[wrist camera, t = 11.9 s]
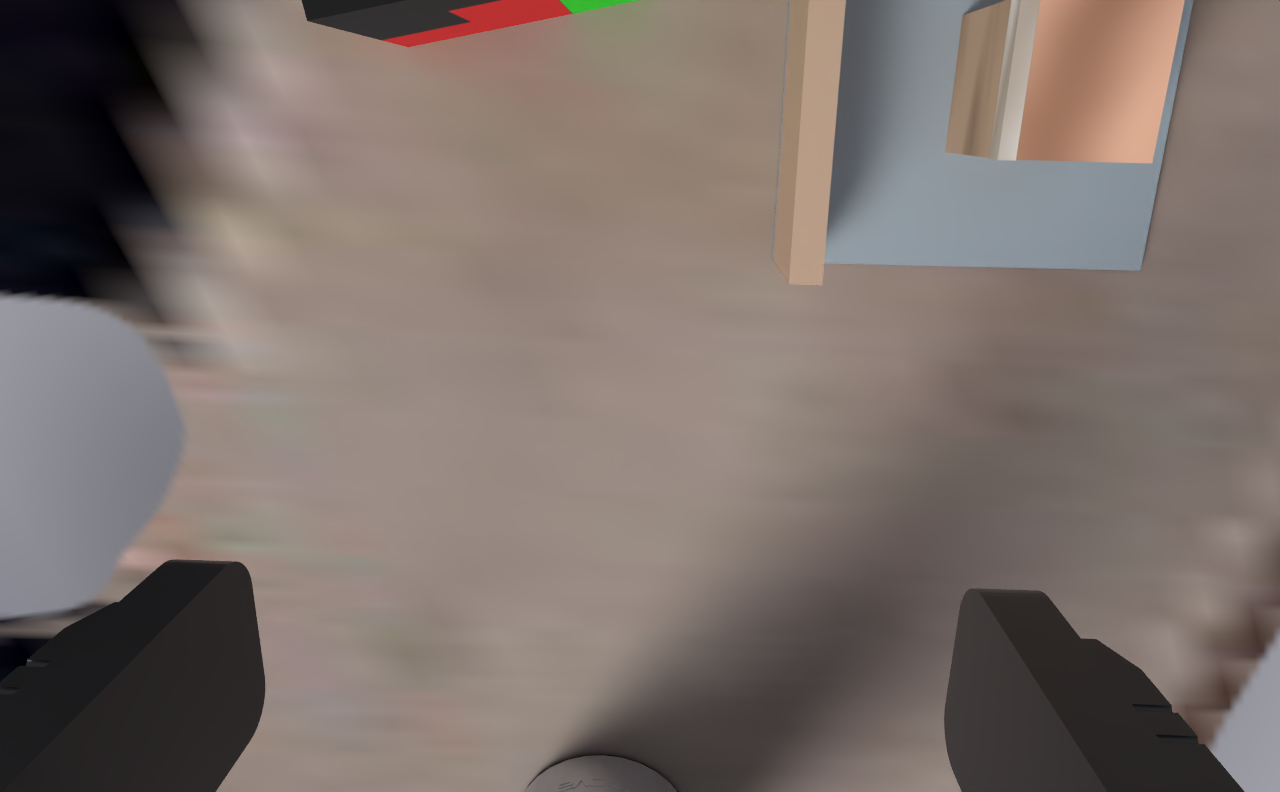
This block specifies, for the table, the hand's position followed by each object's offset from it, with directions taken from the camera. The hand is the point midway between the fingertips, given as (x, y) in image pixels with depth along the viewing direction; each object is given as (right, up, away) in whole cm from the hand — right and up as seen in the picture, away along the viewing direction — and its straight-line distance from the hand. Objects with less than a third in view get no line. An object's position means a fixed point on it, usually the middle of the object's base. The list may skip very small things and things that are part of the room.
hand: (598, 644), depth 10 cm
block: (+15, +15, +24) cm, 32 cm away
